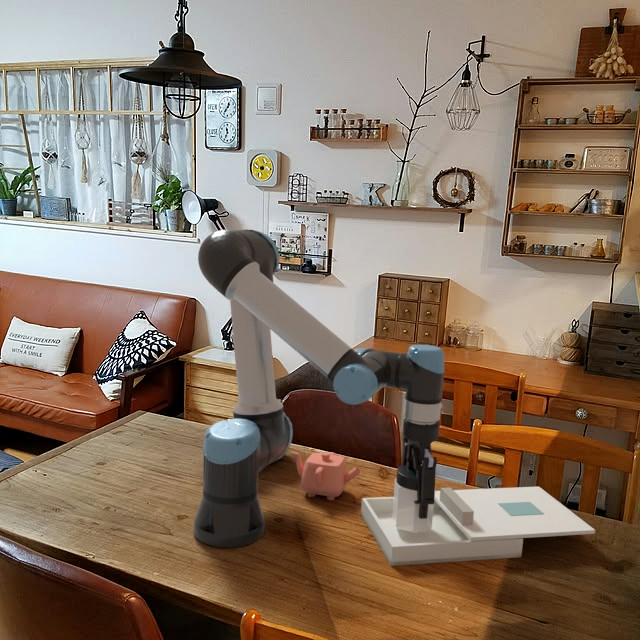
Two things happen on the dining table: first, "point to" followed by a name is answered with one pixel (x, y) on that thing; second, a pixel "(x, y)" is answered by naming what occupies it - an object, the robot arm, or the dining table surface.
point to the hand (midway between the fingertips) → (413, 522)
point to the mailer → (430, 538)
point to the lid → (509, 513)
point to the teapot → (324, 474)
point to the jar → (407, 500)
